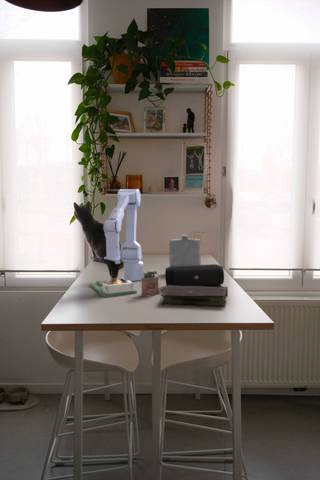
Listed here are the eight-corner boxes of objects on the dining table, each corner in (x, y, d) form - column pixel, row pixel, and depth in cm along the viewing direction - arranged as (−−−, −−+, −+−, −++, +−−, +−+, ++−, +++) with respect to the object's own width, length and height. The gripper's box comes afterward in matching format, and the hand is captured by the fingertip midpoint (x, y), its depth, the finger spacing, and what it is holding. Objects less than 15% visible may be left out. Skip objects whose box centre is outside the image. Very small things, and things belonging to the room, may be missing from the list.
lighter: (143, 296, 196) (142, 273, 194) (140, 294, 199) (139, 271, 197) (160, 293, 199) (160, 271, 198) (156, 292, 202) (156, 269, 201)
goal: (128, 287, 207) (128, 280, 206) (133, 290, 201) (132, 282, 201) (102, 290, 202) (102, 282, 202) (106, 293, 197) (106, 285, 196)
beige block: (118, 285, 210) (118, 268, 209) (122, 287, 206) (121, 270, 205) (106, 286, 208) (105, 269, 207) (109, 289, 204) (108, 271, 202)
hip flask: (169, 274, 240) (169, 235, 237) (170, 272, 244) (169, 234, 241) (200, 274, 239) (200, 235, 236) (200, 272, 243) (200, 234, 240)
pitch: (120, 282, 223) (120, 278, 222) (136, 293, 202) (136, 288, 201) (90, 285, 217) (89, 281, 217) (103, 296, 196) (103, 292, 196)
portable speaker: (167, 290, 205) (167, 268, 204) (165, 285, 215) (164, 264, 214) (224, 288, 208) (224, 266, 207) (219, 283, 218) (219, 262, 217)
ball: (122, 291, 202) (120, 287, 205) (123, 283, 200) (120, 279, 204) (114, 292, 200) (111, 288, 204) (114, 284, 199) (111, 280, 202)
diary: (168, 295, 200) (168, 284, 199) (227, 297, 195) (227, 285, 194) (160, 306, 182) (160, 294, 181) (225, 309, 177) (225, 296, 176)
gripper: (99, 245, 210) (100, 275, 211) (108, 249, 196) (109, 281, 198) (114, 244, 212) (115, 273, 214) (124, 248, 199) (125, 279, 201)
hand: (113, 277), depth 206 cm, fingers closed on beige block, 2 cm apart
